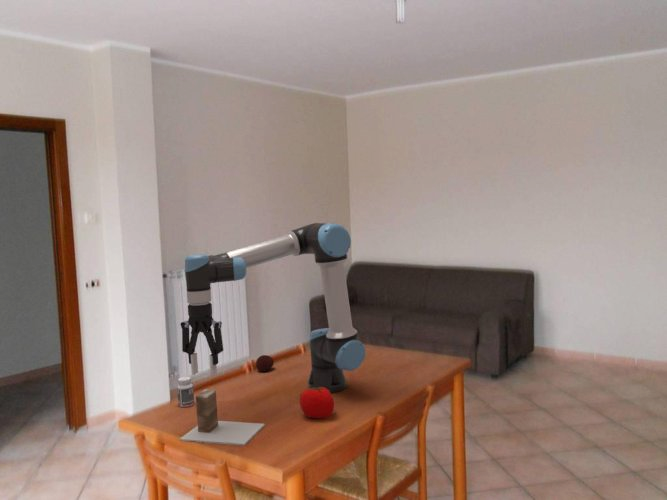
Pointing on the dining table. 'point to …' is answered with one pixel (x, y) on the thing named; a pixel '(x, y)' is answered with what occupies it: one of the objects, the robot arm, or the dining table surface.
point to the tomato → (317, 402)
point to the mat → (226, 433)
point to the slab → (206, 410)
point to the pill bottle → (185, 392)
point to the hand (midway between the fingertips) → (204, 373)
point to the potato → (264, 363)
